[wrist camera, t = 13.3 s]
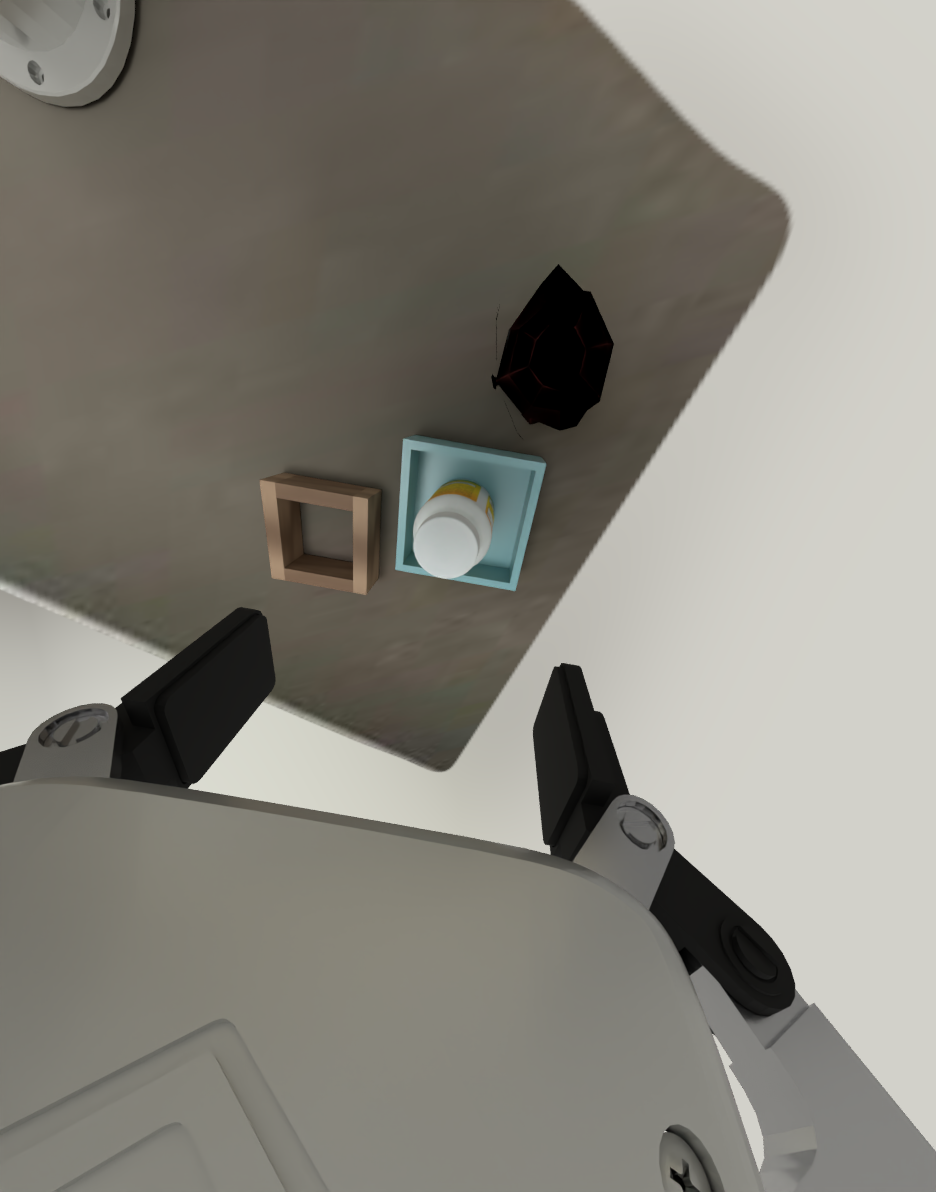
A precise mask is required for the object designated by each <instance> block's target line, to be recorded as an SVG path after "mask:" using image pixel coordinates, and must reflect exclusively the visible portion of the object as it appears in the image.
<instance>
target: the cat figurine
mask: <svg viewBox="0 0 936 1192" xmlns="http://www.w3.org/2000/svg"><path fill="white" fill-rule="evenodd" d="M499 307H500V306H499ZM497 309H498V308H497ZM498 311H499V310H498ZM497 316H498V314H497ZM496 320H497V318H496ZM613 345H614V343H613V341H612V339H611V336H610V334H609V332H608V330H607V327H606V325H605V323H604V321H603V318H602V316H601V314H600V312H599V309H598V307H597V305H596V303H595V300H594V298H593V296H592V294H591V292H589V291H583V290H582V289H581V287H580V286H579V285H578V284H577V283H576V282H575V281H574V280H573V279H572V278H571V277H570V276H569V275H568V274H567V273H566V272H565V271H564V270H563V269H562V267H561V266H560V265H559V264H558V265H557V266H556V268H555V269H554V270H553V271H552V272H551V273H550V274H549V276H548V277H547V278H546V279H545V280H544V281H543V283H542V284H541V285H540V286H539V288H538V289H537V291H536V292H535V294H534V295H533V296H532V298H531V299H530V301H529V302H528V304H527V305H526V306H525V308H524V309H523V311H522V312H521V314H520V315H519V316H518V318H517V319H516V321H515V322H514V324H513V325H512V327H511V328H510V329H509V332H508V336H507V340H506V343H505V347H504V351H503V355H502V359H501V363H500V367H499V370H498V374H497V377H494V376H493V374H492V376H491V378H492V383H493V388H494V389H495V390H496V386H497V385H499V386H500V387H501V388H502V390H503V391H504V392H505V393H506V395H507V396H508V397H509V398H510V400H511V401H512V402H513V403H514V405H515V406H516V407H517V408H518V410H519V411H520V412H521V413H522V416H523V417H524V418H525V419H526V421H527V422H528V423H529V424H534V423H537V422H540V423H543V424H545V425H547V426H550V427H552V428H555V429H557V430H564V429H568V428H572V427H575V426H577V425H578V423H579V422H580V420H581V419H582V417H583V416H584V414H585V413H586V411H587V410H588V409H590V408H591V407H593V406H594V405H595V404H597V403H598V402H599V401H600V398H601V394H602V390H603V386H604V382H605V378H606V374H607V370H608V366H609V363H610V358H611V354H612V349H613ZM496 360H497V326H496ZM505 404H506V403H505ZM507 409H508V408H507ZM509 414H510V413H509ZM511 419H512V418H511ZM513 424H514V423H513ZM515 429H516V428H515ZM519 436H520V435H519ZM520 437H521V436H520Z"/></svg>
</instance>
